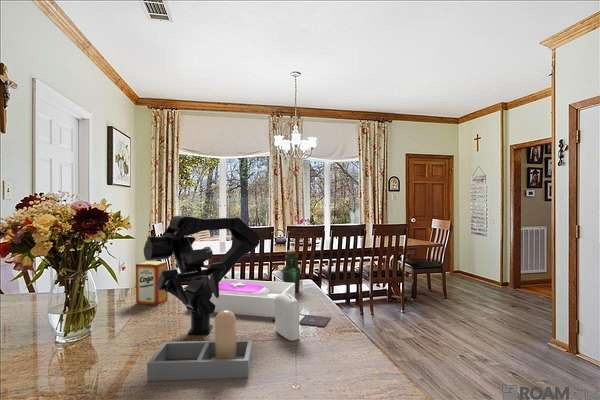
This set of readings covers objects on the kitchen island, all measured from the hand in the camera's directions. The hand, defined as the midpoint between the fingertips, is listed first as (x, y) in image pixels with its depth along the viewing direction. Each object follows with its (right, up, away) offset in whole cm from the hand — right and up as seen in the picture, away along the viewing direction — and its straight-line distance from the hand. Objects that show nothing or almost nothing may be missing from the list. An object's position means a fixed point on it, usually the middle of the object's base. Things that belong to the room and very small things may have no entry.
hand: (203, 300), depth 98 cm
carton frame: (+3, -14, -10) cm, 17 cm away
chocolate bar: (+27, -14, +24) cm, 39 cm away
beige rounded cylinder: (+8, -13, -9) cm, 18 cm away
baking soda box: (-32, -13, +45) cm, 57 cm away
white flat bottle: (+23, -14, +11) cm, 28 cm away
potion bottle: (+23, -13, +60) cm, 65 cm away
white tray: (+5, -14, +41) cm, 44 cm away
